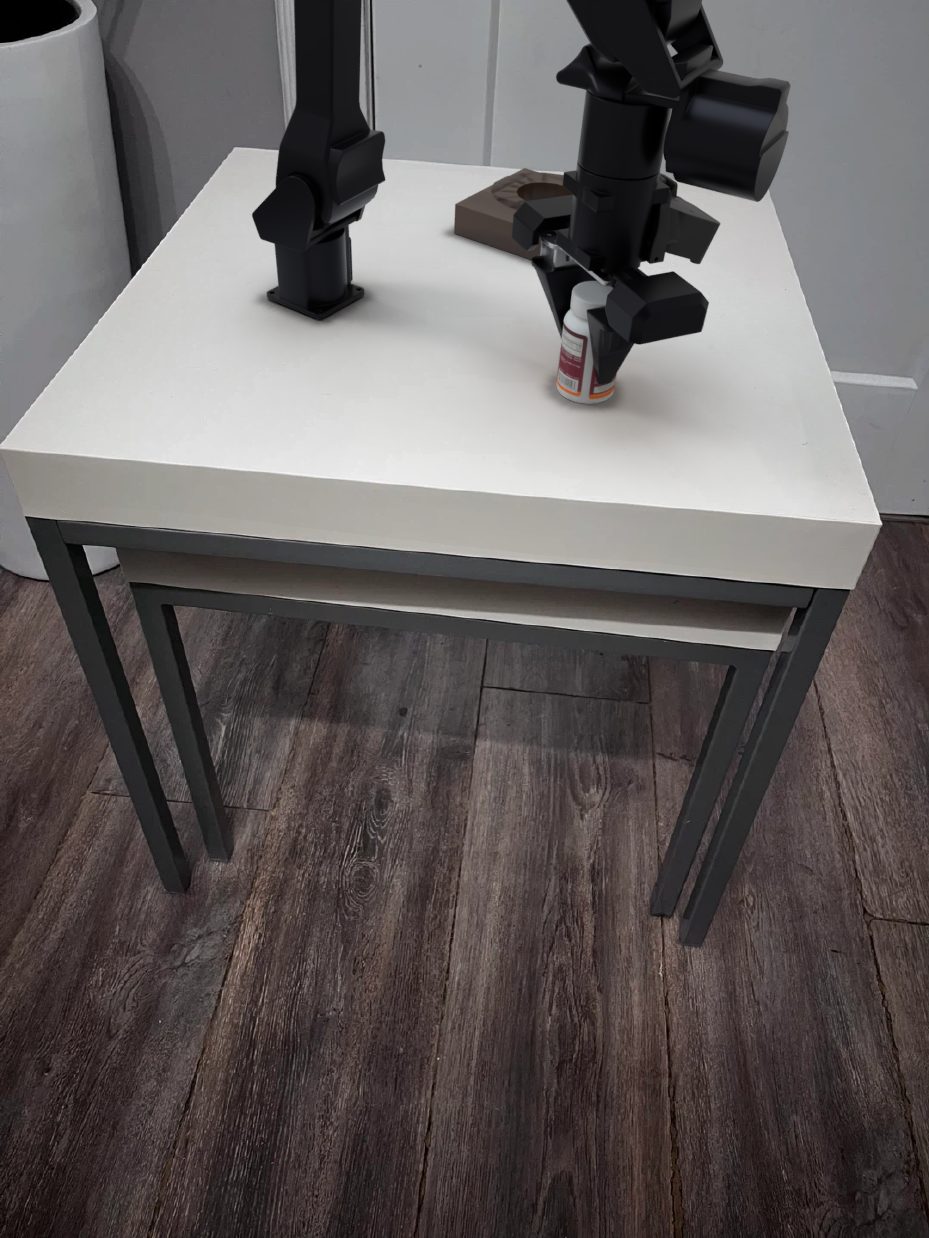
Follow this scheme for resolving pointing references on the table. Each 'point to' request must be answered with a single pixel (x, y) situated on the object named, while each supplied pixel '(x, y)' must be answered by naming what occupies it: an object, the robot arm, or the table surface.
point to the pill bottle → (581, 347)
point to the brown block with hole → (504, 208)
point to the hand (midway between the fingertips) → (587, 367)
